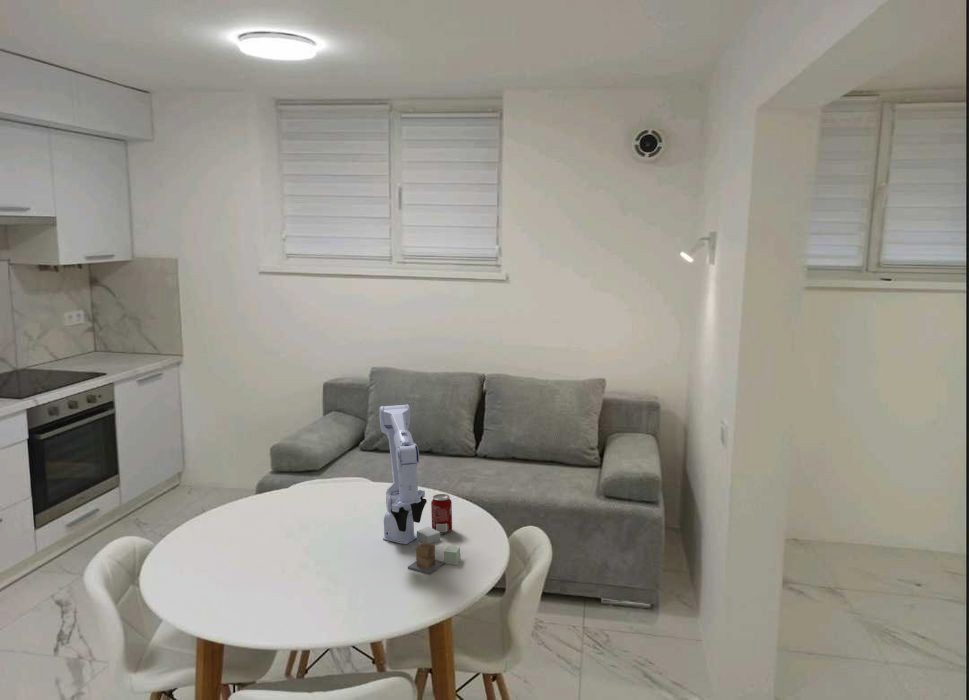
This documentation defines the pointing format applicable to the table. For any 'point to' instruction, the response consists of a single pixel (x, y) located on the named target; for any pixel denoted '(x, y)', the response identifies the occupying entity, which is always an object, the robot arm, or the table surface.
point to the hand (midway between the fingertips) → (409, 526)
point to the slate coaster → (425, 570)
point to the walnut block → (425, 555)
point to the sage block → (452, 555)
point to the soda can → (441, 513)
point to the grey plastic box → (428, 535)
